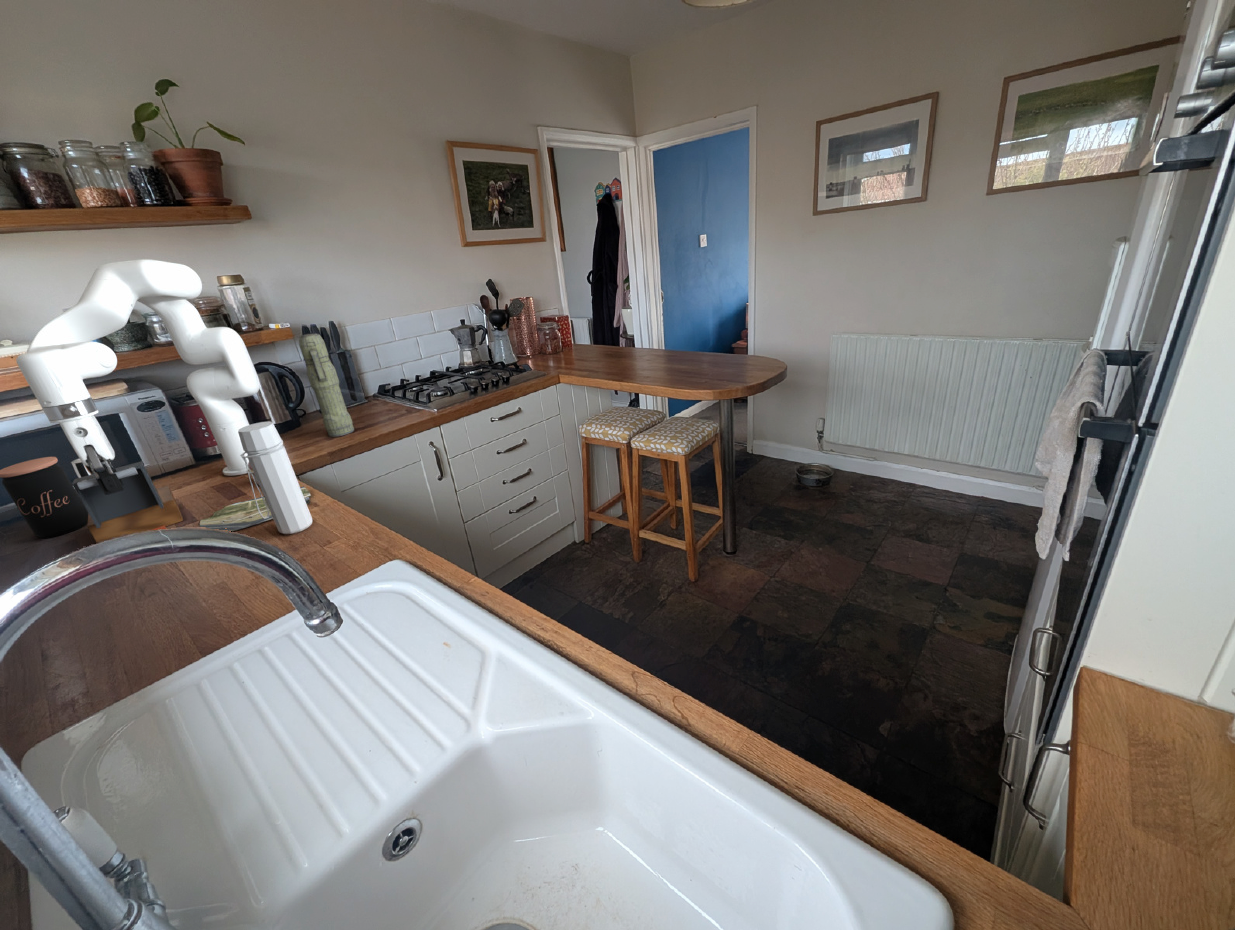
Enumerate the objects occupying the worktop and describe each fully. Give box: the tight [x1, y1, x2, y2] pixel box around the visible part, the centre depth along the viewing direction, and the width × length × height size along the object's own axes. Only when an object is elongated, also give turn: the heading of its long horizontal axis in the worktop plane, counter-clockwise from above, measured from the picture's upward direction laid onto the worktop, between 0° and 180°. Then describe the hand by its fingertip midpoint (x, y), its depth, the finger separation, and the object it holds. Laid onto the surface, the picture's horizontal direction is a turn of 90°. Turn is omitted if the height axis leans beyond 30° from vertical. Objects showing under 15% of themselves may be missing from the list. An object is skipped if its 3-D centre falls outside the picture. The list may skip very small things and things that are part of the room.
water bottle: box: [238, 421, 313, 535], centre depth 116 cm, size 9×8×25 cm
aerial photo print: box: [198, 486, 312, 532], centre depth 131 cm, size 25×19×2 cm
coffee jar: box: [0, 456, 88, 539], centre depth 132 cm, size 11×11×18 cm
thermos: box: [298, 332, 355, 438], centre depth 182 cm, size 9×12×35 cm
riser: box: [86, 485, 184, 543], centre depth 131 cm, size 16×14×6 cm
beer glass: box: [70, 457, 94, 478], centre depth 142 cm, size 7×7×15 cm
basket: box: [71, 460, 164, 529], centre depth 119 cm, size 12×12×11 cm
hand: (114, 489), depth 115 cm, fingers open, 3 cm apart
